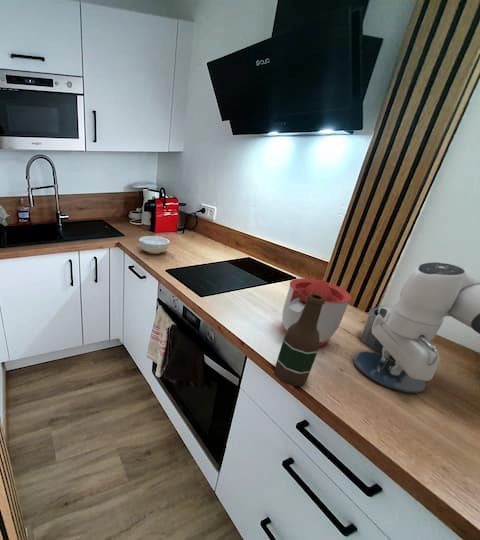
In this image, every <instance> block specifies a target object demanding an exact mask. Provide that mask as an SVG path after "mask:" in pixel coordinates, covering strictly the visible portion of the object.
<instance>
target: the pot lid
mask: <svg viewBox="0 0 480 540" xmlns="http://www.w3.org/2000/svg"><path fill="white" fill-rule="evenodd" d="M382 357H383V356H382V353H379V352H372V351H362V352H358V353H356V354H355V355H354V357H353V363H354V365H355V367H356V368H357V369H358V370H359V371H360V372H361V373H362V374H364V375H365V376H366V377H368V378H369V379H371V380H372V381H374V382H376V383H378V384H380V385H382V386H384V387H387V388H390V389H391V390H395V391H399V392H403V393H407V394H408V393H409V394H417V393H421V392H423V391H424V390H425V389H426V386H427V385H426V381H422V380H417V379H413V378H410V377H409V376H408V374H407V373H406V372H405V371H404V370H403V371H401V372H400V374H399V375H398V376H396V375H392V374H391V373H390V372H389V370H388V369H389V367H390V365H391V366H395V365H396V364H395V361H396V360H395V359H394V358H393V357H392V356H391V355H389V356H388V358H387V359H386V361H385V363H384V364H383V363H382V362H381V359H382Z"/></svg>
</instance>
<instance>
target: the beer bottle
mask: <svg viewBox="0 0 480 540" xmlns="http://www.w3.org/2000/svg"><path fill="white" fill-rule="evenodd" d="M306 300H307V302H306V304H305V307H304V309H303V311H302V314H301V316H300V318H299V320H298V321H297V322H296V323H294V324H292V325H291V326H290V327H289V328H288V329H287V331H286V334H285V333H284V337H283V340H282V343H281V347H280V350H279V353H278V355H277V359H276V363H275V367H274V371H273V373H274V374H273V375H274V376H276V377H277V379H278V380H279V381H280V382H281V383H283V384H285V385H289V386H291V387H293V388H294V387H301V386H304V385H306V383H307V381H308V378H309V375H310V373H311V370H312V368H313V365H314V362H315V360H316V357H317V355H318V352H319V349H320V346H319V345H320V338H319V332H318V330H317V323H318V319H319V315H320V312H321V308H322V305H323V304H324V302H325V300H324V298H323V297H322V296H320V295H316V294H309V295H308V296H307V299H306Z"/></svg>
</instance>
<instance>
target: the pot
mask: <svg viewBox="0 0 480 540" xmlns="http://www.w3.org/2000/svg"><path fill="white" fill-rule="evenodd" d="M379 307H387V306H386V305H385V306H384V305H378V306H377V307H374V308H372V309H370V311H369V314H368V316H367V318H366V320H365V323H364V325H363V327H362V329H361V332H360V335H359V337H360V340H361V341H362V343H364V345H366V346H367V347H369V348H370V349H372V350H373V351H375V352H376V353H378V354H382V349H383V345H382V344H381V343H380V342H379V341H378V340H377V338H376V337H375V336H374V335H373V334H372V325H373V323H374V320H375V318H376V316H377V315H378V314H379V313H378V309H379Z"/></svg>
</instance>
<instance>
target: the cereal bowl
mask: <svg viewBox="0 0 480 540" xmlns="http://www.w3.org/2000/svg"><path fill="white" fill-rule="evenodd" d="M138 243H139V247H140V248H141V249H142V250H143V251H145V252H146V253H148V254H152V255H159V254H161V253H164V252H166V251H167V250H168V249H169V247H170V244H171V243H170V240H169V239H168V238H166V237H163V236H158V235H146V236H142V237H140V238H139V241H138Z"/></svg>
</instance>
